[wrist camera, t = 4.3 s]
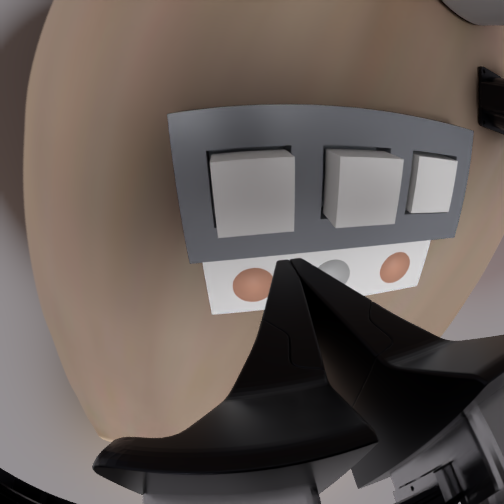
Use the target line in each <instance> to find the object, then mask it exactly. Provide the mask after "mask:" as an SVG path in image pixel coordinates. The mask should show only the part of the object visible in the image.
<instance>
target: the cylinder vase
mask: <svg viewBox="0 0 504 504" xmlns="http://www.w3.org/2000/svg"><path fill="white" fill-rule="evenodd" d="M442 1H443V2H444V3H445V4H446V5H447V6H448V7H449V8H450V9H451V10H453V11H454V12H455V13H456V14H458V15H459V16H460V17H462V18H464V19H465V20H467V21H469V22H471V23H473V24H477V25H504V0H442Z"/></svg>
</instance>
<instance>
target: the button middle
mask: <svg viewBox="0 0 504 504" xmlns="http://www.w3.org/2000/svg"><path fill="white" fill-rule="evenodd" d="M403 163H404V159H402V158H399V157H397V156H395V155H393V154H390V153H388V152H385V151H376V150H356V149H326V154H325V183H324V203H323V213H324V215H325V216H326V217H327V218H328V220H329V221H330V222H331V223H332V224H333V226H334V227H335V228H345V227H359V226H373V225H388V224H395V219H396V213H397V207H398V201H399V195H400V188H401V180H402V172H403Z"/></svg>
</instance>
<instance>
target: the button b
mask: <svg viewBox="0 0 504 504" xmlns="http://www.w3.org/2000/svg"><path fill="white" fill-rule="evenodd" d="M457 163H458V161H456V160H454V159H451V158H449V157H447V156H444V155H442V154H437V153H430V152H422V151H413V157H412V167H411V175H410V182H409V189H408V196H407V202H406V208H405V209H406V210H407V211H409V212H410V213H434V212H449V208H450V204H451V199H452V194H453V188H454V183H455V177H456V170H457Z"/></svg>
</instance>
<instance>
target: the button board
mask: <svg viewBox="0 0 504 504" xmlns="http://www.w3.org/2000/svg"><path fill="white" fill-rule="evenodd" d="M167 117H168V126H169V135H170V144H171V152H172V160H173V167H174V174H175V181H176V188H177V194H178V201H179V207H180V213H181V219H182V225H183V230H184V236H185V241H186V247H187V252H188V257H189V262H190V264H191V263H202V262H213V261H224V260H234V259H245V258H256V257H266V256H277V255H287V254H297V253H308V252H318V251H328V250H338V249H348V248H358V247H368V246H378V245H387V244H397V243H407V242H416V241H426V240H435V239H445V238H454V237H455V233H456V229H457V226H458V222H459V218H460V214H461V209H462V205H463V201H464V196H465V191H466V185H467V180H468V174H469V168H470V161H471V153H472V144H473V133H474V131H472V130H469V129H466V128H462V127H459V126H455V125H452V124H448V123H444V122H440V121H435V120H431V119H426V118H422V117H417V116H411V115H406V114H400V113H394V112H388V111H381V110H373V109H365V108H355V107H344V106H330V105H309V104H262V105H240V106H226V107H215V108H206V109H197V110H189V111H182V112H175V113H170V114H167ZM277 149H286V150H287V151H288V152H289V153H291V154H292V155H293V156H294V157H295V213H294V232H282V233H270V234H259V235H247V236H236V237H226V238H218V233H217V225H216V216H215V207H214V198H213V189H212V179H211V169H210V159H211V155H212V154H218V153H229V152H242V151H257V150H277ZM326 149H356V150H376V151H385V152H388V153H390V154H393V155H395V156H397V157H399V158H402V159H404V163H403V172H402V180H401V188H400V195H399V201H398V207H397V213H396V219H395V224H388V225H373V226H359V227H345V228H335V227H334V226H333V224H332V223H331V222H330V221H329V220H328V218H327V217H326V216H325V215H324V213H323V203H324V183H325V154H326ZM413 151H422V152H430V153H437V154H442V155H444V156H447V157H449V158H451V159H454V160H456V161H458V163H457V170H456V177H455V183H454V188H453V194H452V199H451V204H450V208H449V212H434V213H410V212H409V211H407V210H406V209H405V208H406V202H407V196H408V189H409V182H410V175H411V167H412V157H413Z"/></svg>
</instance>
